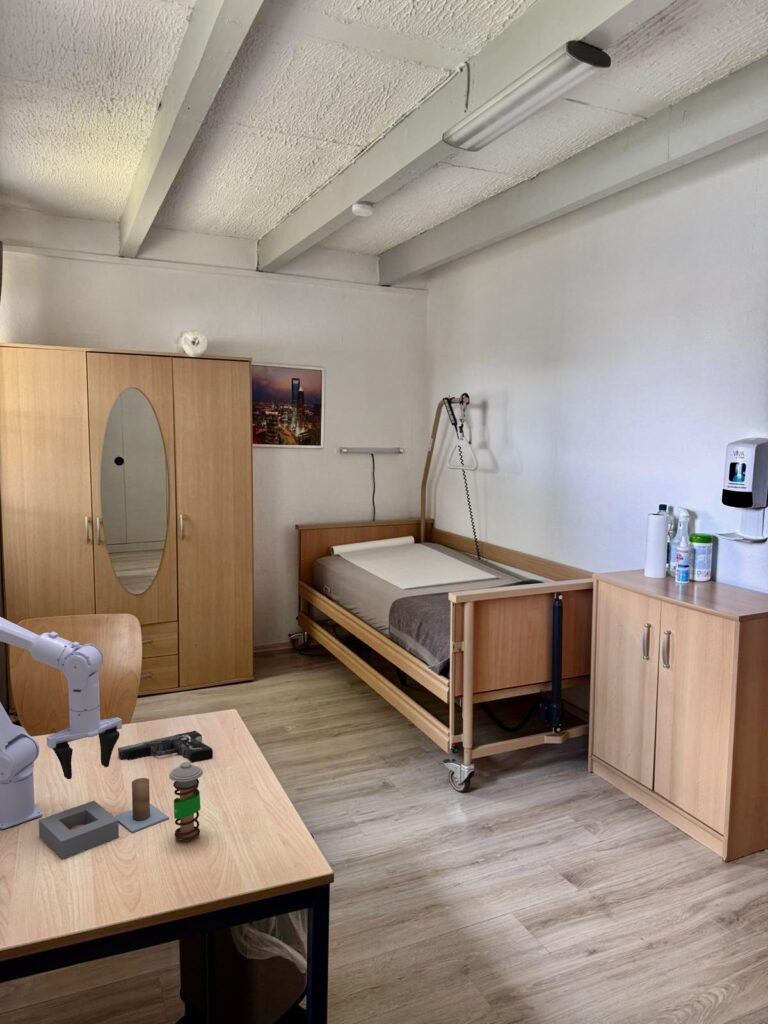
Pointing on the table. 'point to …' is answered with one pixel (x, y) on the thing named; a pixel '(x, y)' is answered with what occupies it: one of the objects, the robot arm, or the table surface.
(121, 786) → the table surface
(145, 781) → the dowel
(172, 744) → the handgun
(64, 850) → the frame
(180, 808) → the shock absorber
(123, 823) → the mat
